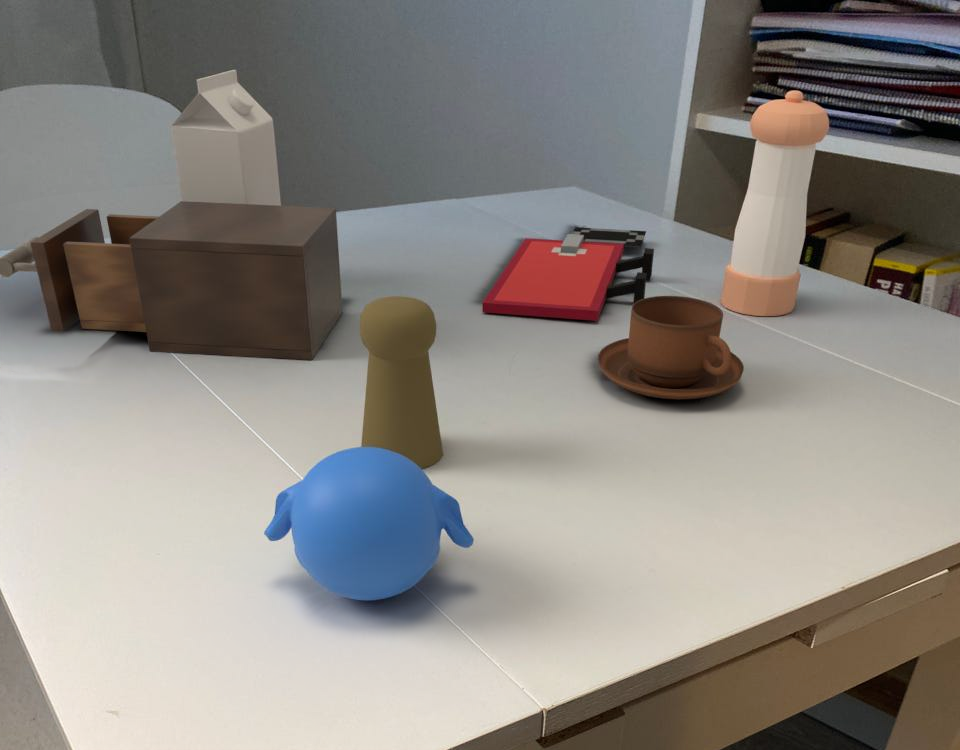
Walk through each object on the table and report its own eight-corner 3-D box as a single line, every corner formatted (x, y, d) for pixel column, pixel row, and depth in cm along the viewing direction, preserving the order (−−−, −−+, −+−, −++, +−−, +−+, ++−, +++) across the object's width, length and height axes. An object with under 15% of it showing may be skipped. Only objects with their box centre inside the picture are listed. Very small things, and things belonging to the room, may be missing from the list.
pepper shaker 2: (760, 321, 98) (801, 100, 86) (705, 301, 102) (737, 88, 91) (809, 308, 101) (854, 93, 90) (753, 289, 106) (790, 82, 95)
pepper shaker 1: (422, 477, 70) (419, 321, 64) (345, 462, 72) (335, 308, 66) (455, 443, 75) (456, 294, 68) (382, 429, 77) (376, 282, 70)
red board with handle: (661, 240, 119) (536, 233, 122) (664, 215, 117) (537, 208, 120) (636, 328, 96) (482, 317, 98) (639, 298, 94) (482, 288, 97)
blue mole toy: (477, 524, 65) (480, 402, 60) (469, 632, 56) (471, 497, 51) (294, 518, 66) (281, 395, 61) (254, 624, 56) (234, 489, 51)
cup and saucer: (761, 377, 86) (775, 305, 83) (703, 425, 78) (716, 348, 75) (636, 347, 92) (644, 278, 88) (570, 388, 84) (575, 314, 80)
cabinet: (149, 351, 89) (128, 238, 83) (196, 305, 99) (180, 201, 93) (312, 360, 88) (302, 246, 82) (342, 312, 98) (335, 208, 92)
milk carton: (194, 288, 103) (162, 77, 92) (228, 268, 108) (202, 67, 97) (257, 296, 101) (233, 82, 90) (288, 275, 107) (269, 72, 95)
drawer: (-3, 330, 90) (-27, 239, 85) (54, 290, 99) (34, 206, 94) (199, 341, 88) (186, 249, 84) (238, 300, 98) (227, 215, 93)
